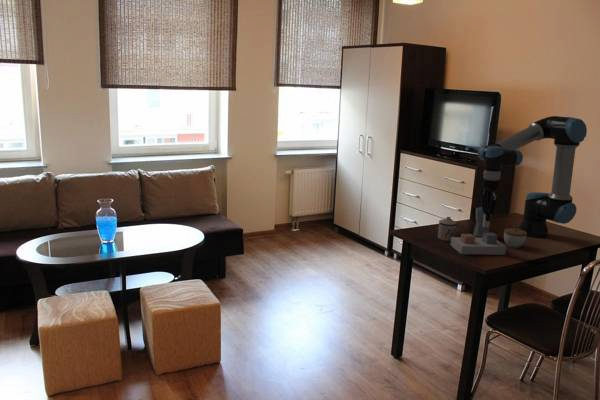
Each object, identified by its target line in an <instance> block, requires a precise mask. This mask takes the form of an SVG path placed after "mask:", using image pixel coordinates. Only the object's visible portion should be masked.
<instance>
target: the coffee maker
mask: <svg viewBox="0 0 600 400" xmlns="http://www.w3.org/2000/svg"><path fill="white" fill-rule="evenodd" d="M472 214H473V217H474V221H476V222H475V225H474V228H473V229H474V230H473V232H472V233H473V234H472V235H473V236H475V238H483V233H490V226H489V227H483V218H484V212H483V211H482V205H481V206H474V207H473V208H472ZM492 215H493V214H491V216H490V221H491V219H492Z"/></svg>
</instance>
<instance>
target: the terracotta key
mask: <svg viewBox="0 0 600 400" xmlns="http://www.w3.org/2000/svg"><path fill="white" fill-rule="evenodd" d="M460 237H461V241H462V242H463V243H464V244H475V238H476V236H473V234H472V233H461V234H460Z"/></svg>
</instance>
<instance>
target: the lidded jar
mask: <svg viewBox="0 0 600 400" xmlns="http://www.w3.org/2000/svg"><path fill="white" fill-rule="evenodd" d="M526 235H527V232H526V231H523V230H520V229H518V228H517V227H514V228H512V227H511V228H510V227H508V228H505V229H504V230H503V240H504V243H505V244H506V245H507V246H508V247H509V248H516V249H517V248H521V246H523V245H524V244H525V242H526V240H527V236H526ZM507 246H506V247H507Z"/></svg>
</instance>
